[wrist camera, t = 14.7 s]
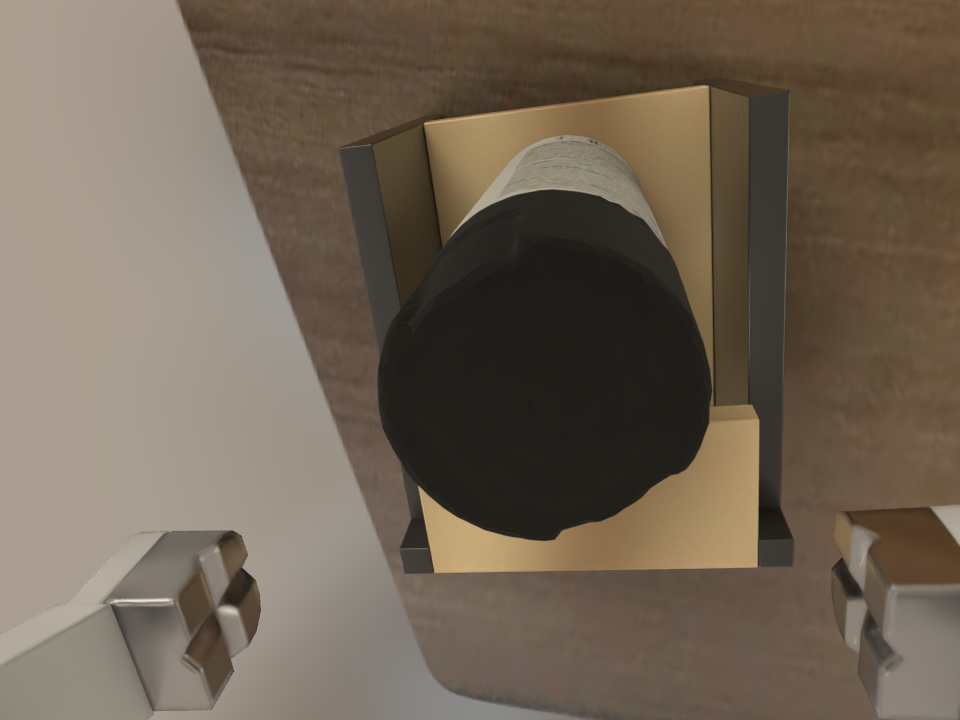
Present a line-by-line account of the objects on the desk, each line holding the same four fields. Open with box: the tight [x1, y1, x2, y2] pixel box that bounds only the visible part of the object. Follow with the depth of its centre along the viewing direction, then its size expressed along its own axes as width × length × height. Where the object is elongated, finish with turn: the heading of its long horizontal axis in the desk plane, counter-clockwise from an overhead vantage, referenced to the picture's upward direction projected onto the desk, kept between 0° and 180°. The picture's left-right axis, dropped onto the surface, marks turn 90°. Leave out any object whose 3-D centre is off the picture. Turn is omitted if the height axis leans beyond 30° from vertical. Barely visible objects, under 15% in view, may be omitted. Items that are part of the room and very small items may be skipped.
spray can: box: [377, 135, 712, 541], centre depth 23 cm, size 7×7×20 cm
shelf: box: [339, 78, 794, 574], centre depth 31 cm, size 14×16×15 cm
